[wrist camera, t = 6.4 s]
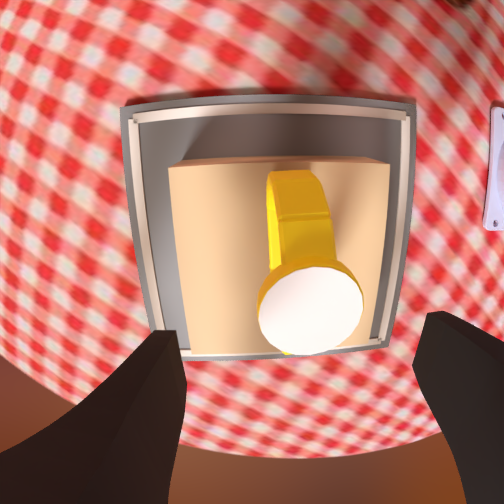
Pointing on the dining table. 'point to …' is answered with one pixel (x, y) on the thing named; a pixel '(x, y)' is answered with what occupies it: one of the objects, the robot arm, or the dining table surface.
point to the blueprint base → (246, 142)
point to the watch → (304, 270)
